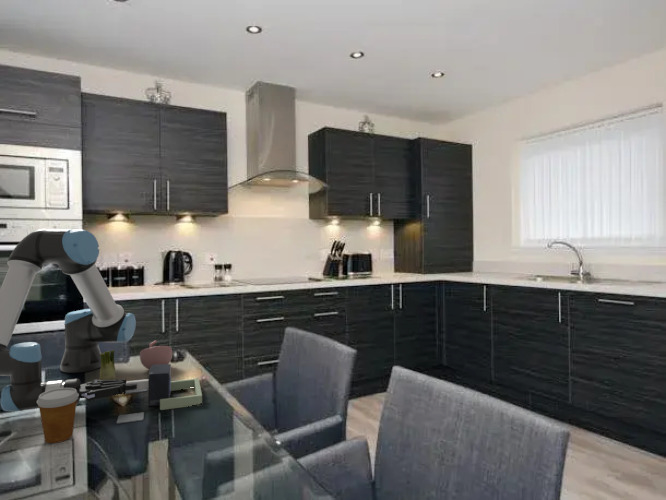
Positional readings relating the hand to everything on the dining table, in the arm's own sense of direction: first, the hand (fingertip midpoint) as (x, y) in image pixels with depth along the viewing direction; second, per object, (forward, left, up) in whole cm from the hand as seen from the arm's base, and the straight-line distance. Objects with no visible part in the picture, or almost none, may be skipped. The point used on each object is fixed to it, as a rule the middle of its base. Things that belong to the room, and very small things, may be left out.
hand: (148, 383), depth 142 cm
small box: (-1, +4, -6) cm, 7 cm away
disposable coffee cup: (+18, -21, -6) cm, 29 cm away
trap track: (-1, +4, -6) cm, 7 cm away
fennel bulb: (-23, -14, -6) cm, 28 cm away
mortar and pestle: (-35, +2, -6) cm, 35 cm away
